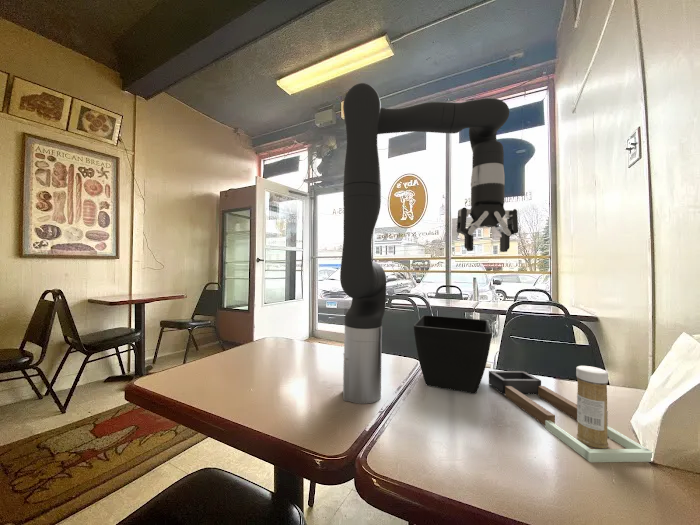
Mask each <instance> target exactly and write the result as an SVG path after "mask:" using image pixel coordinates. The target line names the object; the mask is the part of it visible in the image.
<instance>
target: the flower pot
mask: <svg viewBox="0 0 700 525" xmlns="http://www.w3.org/2000/svg"><path fill="white" fill-rule="evenodd" d="M413 332H414V333H413V334H414V339H415V341H414V342H415V347H416V352H417V358H418V361H419V366H420V370H421V373H422V377H423V380H424V383H425V385H426V386H428V387H432V388H433V387H434V388H438V389H444V390H450V391H456V392H463V393H469V394H476V393H477V392H478V389H479V388H480V385H481V382H482V379H483V376H484V373H485V370H486V366H487V362H488V359H489V358H488V357H489V354H490V348H491V344H492V343H491V342H492V337H493V336H492V335H493V332H492V330H491V327H490V324H489V321H488V320H487V319H480V318H479V319H478V318H477V319H476V318H467V317H466V318H465V317H453V316H442V315H440V316H439V315H425V314H424V315H422V316H421V317H420V318H419V319H418V320H417V322H415V323H414V324H413Z"/></svg>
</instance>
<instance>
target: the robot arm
mask: <svg viewBox="0 0 700 525" xmlns="http://www.w3.org/2000/svg"><path fill="white" fill-rule="evenodd" d="M381 104H382V102H381V99H380V96H379V92H377V90H376V89H375V88H374V87H373V86H372V85H370V84H368V83H364V82H360V83H357V84H354V85H352V87H351V88H349V90H348V91H347V93H346V94H345V96H344V100H343V106H342V109H343V115H344V117H343V118H344V123H345V131H346V132H345V133H346V149H345V158H344V159H345V160H344V168H343V170H344V172H343V190H342V191H343V193H342V196H343V200H342V201H343V243H342V254H341V261H340V262H341V263H340V272H339V274H340V275H339V276H340V278H339V279H340V285H341V288H342V290H343V292H344V294H346V295H347V297H349V298H351V304H350V307H349V309H348V310H347V311H346V313H345V315H344V344H343V345H344V346H343V372H342V373H343V375H342V381H343V382H342V383H343V384H342V395H343V396H342V398H343V401H345V402H346V401H348V402H351V403H355V404H361V405H362V404H372V403H375V402H377V401H379V400H380V399H381V398H382V356H383V355H382V352H383V351H382V350H383V349H382V344H383V341H382V340H383V336H382V335H383V317H384V315H385V311H386V301H387V300H386V298H387V296H386V295H387V277H386V276H387V275H386V271H385V270H384V268H383V267H382V266H381V264H379V263H377V262H375V261H373V252H372V246H373V245H372V240H373V239H372V238H373V234H374V230H375V228H376V225H377V221H378V219H379V215H380V211H381V203H382V191H381V190H382V188H381V187H382V184H381V183H382V181H381V170H380V169H381V168H380V166H381V165H380V157H379V150H378V148H379V147H378V135H383V134H394V133H395V134H396V133H435V134H439V133H440V134H458V133H460V132H461V131H462V130H464V129H468V136H469V143H470V147H471V151H472V164H471V166H472V168H471V170H472V171H471V179H470V190H471V191H470V208H469V209H468V208H466V207H463V208H460V209H458V212H457V222H456V224H457V225H456V233H458V234H462V236H464V244H463V245H464V248H465V250H466V252H472V251H474V235H473V234H474V232H476V230H477V229H478V228H484V227H486V228H494V230H495V231H497V232H498V234H499V236H500V237H499V252H500V253H507V252H508V250H510V242H511V241H510V239H511V238H510V237H511V236H513V235H515V234H518V233H519V223H518V221H519V220H518V210H517V209H516V208H514V209H509V210H506V209H505V207H504V205H505V190H506V189H505V181H506V180H505V175H506V174H505V169H504V159H505V158H504V155H505V154H504V145H503V143H501V141H499V140H497V134H498V131H499V130H500V129H501V128H502V127H503V126H504V124H505V123H506V122H507V121H508V119H509V116H510V108H509V106H508V104H507V103H506V102H505V101H503V100H502V99H499V98H495V97H485V98H479V99H472V100H467V101H462V102H455V101H454V102H453V101H441V100H440V101H438V100H435V101H427V102H421V103H417V104H413V105H411V106H407V107H400V108H388V107H387V108H386V107H382V105H381ZM469 215H470V217H471V219H472V221H471V222H469V225H468V226H467V218H468V217H469ZM503 218H505V219H506V221H505V220H504V219H503ZM466 226H467V228H466Z"/></svg>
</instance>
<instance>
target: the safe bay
mask: <svg viewBox="0 0 700 525" xmlns="http://www.w3.org/2000/svg"><path fill="white" fill-rule="evenodd" d="M544 428H545V429H546V430H547V431H549V433H551V434H552V435H554V436H555V437H557V439H559V440H561V442H563V443H564V444H566V446H568V447H570V448H571V449H572V450H573V451H575V452H576V453H577V454H579V455H580V456H582V457H583V459H585V460H587V462H589V463H650V462H651V458H652V453H653V452H654V451H652V450H650V449H649V448H647V447H645V446H643V445H642V444H640V443H638V442H637V441H635V440H633V439H631V437H628V436H626V435H625V434H622V432H619V431H618V430H617V429H614V428H612V427H611V426H609V425H608V428H607V438H609V439H610V440H613V442H615V443H618V445H620V446H622V447H624V448H603V449H600V448H594V449H593V448H592V449H591V447H588V445H586V444H584V443H582V442H581V441H580V440H579V439H578V438H575V437H574V436H572V435H571V434H570V433H568V432H567V431H566V430H564V429H563V428H562V427H560V426H558V425H557V424H556V423H555V424H554V423H553V422H552V421H550V420H545V426H544Z"/></svg>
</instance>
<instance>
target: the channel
mask: <svg viewBox="0 0 700 525" xmlns="http://www.w3.org/2000/svg"><path fill="white" fill-rule="evenodd" d="M504 396H505V397H506V398H507V399H508V400H510V401H511V402H512V403H514V404H515V405H516V406H517V407H519V408H520V409H521V410H523V411H525V412H526V413H527V414H528V415H530V416H531V417H532V418H534V419H535V420H537V422H539V423H540V424H542V425H543V426H544V427H545V420H550V421H552V422H553V423H554V424H556V415H555V414H554V413H552V412H551V411H549V410H548V409H546V408H545V407H543V406H541V405H540V404H539V403H537V402H536V401H534V400H533V399H531V398H530V397H528V396H527V395H526V394H522V393H521V392H519V391H518V390H516V389H515V388H513V387H512V386H505V394H504ZM537 396H538V397H539V398H540V399H542V400H544V401H545V402H547V403H548V404H550V405H551V406H553V407H554V408H556V409H558V410H560V411H561V412H563V413H564V414H566V415H568V416H569V417H571V418H572V419H573V420H575V421H577V403H575V402H573V401H571V400H569V399H567V398H566V397H564V396H562V395H561V394H559V393H557V392H556V391H554V390H551V389H550V388H548V387H546V386H544V385H541V386H538V394H537Z"/></svg>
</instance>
